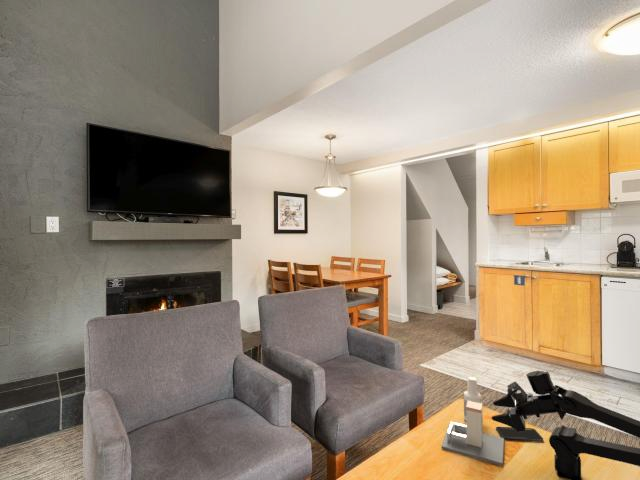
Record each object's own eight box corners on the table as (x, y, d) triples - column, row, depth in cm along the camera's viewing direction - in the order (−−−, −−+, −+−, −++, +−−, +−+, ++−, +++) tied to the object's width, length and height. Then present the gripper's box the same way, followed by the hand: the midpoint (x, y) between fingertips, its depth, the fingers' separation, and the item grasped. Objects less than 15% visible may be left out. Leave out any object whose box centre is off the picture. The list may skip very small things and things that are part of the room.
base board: (503, 440, 131) (503, 438, 131) (502, 466, 117) (502, 463, 117) (448, 426, 141) (448, 424, 141) (441, 448, 127) (441, 446, 127)
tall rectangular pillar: (482, 440, 129) (482, 403, 129) (481, 447, 125) (481, 410, 125) (468, 436, 132) (467, 400, 132) (466, 443, 127) (466, 406, 127)
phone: (494, 426, 139) (534, 428, 137) (495, 429, 139) (534, 431, 137) (502, 438, 131) (544, 440, 129) (502, 441, 131) (544, 443, 129)
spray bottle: (468, 414, 150) (468, 373, 150) (484, 420, 145) (484, 378, 144) (461, 419, 146) (460, 378, 145) (476, 426, 140) (476, 383, 140)
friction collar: (468, 434, 133) (468, 425, 133) (466, 446, 126) (466, 437, 126) (451, 430, 137) (450, 421, 137) (447, 441, 129) (447, 432, 129)
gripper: (527, 370, 126) (484, 377, 134) (529, 397, 110) (480, 404, 118) (541, 398, 125) (497, 404, 133) (545, 430, 109) (495, 435, 117)
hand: (492, 410), depth 125 cm, fingers open, 9 cm apart
